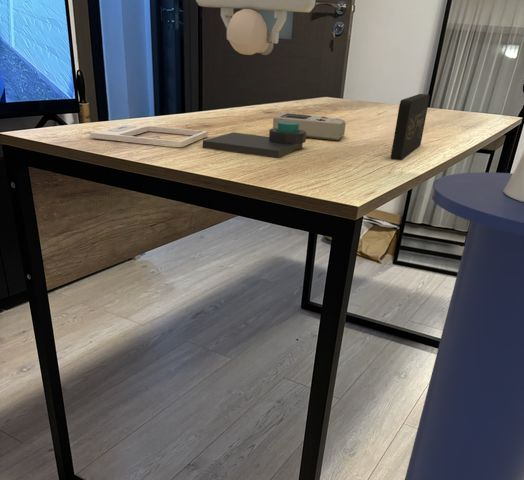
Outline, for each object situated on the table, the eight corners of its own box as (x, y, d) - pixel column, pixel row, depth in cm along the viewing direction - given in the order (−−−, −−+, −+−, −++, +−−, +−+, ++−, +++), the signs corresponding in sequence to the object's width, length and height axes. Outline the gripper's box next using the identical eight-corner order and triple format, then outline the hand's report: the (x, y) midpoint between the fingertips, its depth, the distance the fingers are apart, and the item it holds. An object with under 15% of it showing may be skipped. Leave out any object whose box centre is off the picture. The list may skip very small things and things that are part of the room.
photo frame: (125, 122, 111) (207, 130, 108) (125, 128, 112) (207, 136, 109) (89, 131, 99) (181, 140, 96) (90, 137, 100) (181, 147, 96)
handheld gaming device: (338, 141, 113) (341, 122, 111) (271, 134, 116) (273, 115, 114) (344, 136, 120) (347, 118, 118) (281, 130, 123) (283, 112, 121)
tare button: (301, 132, 103) (301, 123, 102) (294, 135, 100) (294, 125, 99) (281, 130, 104) (282, 120, 103) (274, 132, 101) (274, 122, 100)
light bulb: (259, 22, 94) (228, -4, 84) (290, 33, 92) (262, 7, 82) (246, 62, 96) (214, 41, 87) (276, 73, 94) (246, 53, 85)
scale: (309, 147, 105) (310, 130, 104) (283, 158, 93) (284, 140, 92) (235, 137, 110) (236, 121, 109) (202, 147, 98) (202, 130, 97)
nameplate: (411, 144, 115) (420, 93, 110) (420, 145, 114) (430, 94, 109) (390, 159, 98) (400, 100, 93) (400, 161, 98) (411, 101, 92)
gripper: (326, -57, 82) (316, 46, 89) (207, -59, 88) (207, 38, 95) (314, -65, 77) (304, 45, 84) (189, -66, 83) (189, 37, 90)
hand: (251, 41), depth 90 cm, fingers closed on light bulb, 6 cm apart
